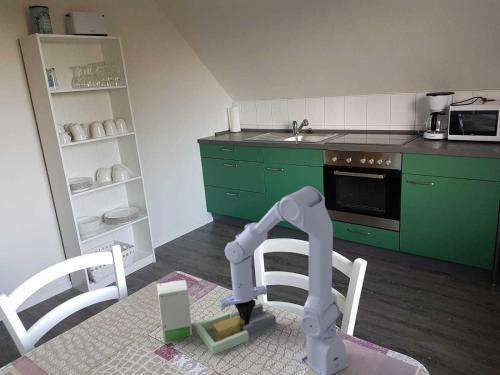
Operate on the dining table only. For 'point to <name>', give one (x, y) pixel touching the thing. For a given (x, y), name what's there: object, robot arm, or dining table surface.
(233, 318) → the chip
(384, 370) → the dining table surface
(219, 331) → the chip
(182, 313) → the skincare box
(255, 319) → the green and grey tray
